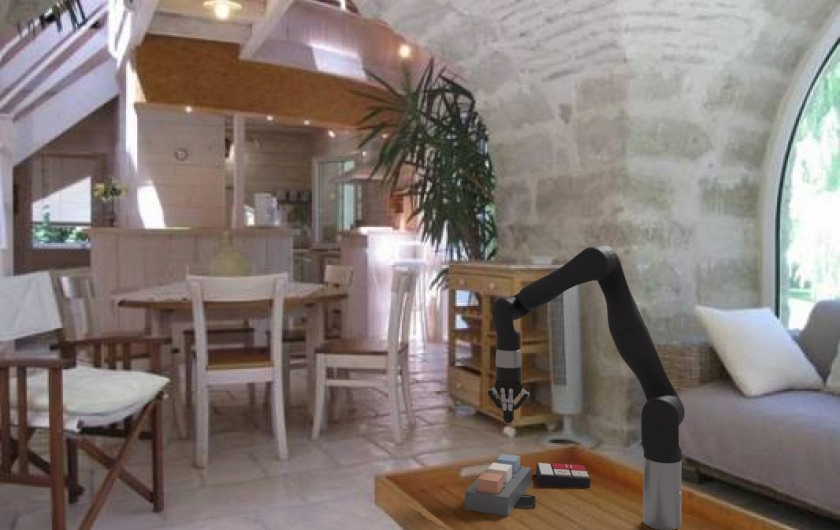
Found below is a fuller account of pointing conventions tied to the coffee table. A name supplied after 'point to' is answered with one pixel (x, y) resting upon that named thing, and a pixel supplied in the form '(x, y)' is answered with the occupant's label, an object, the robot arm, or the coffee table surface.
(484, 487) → the terracotta key
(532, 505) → the phone
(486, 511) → the key panel
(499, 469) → the white key
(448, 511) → the coffee table surface
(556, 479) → the calculator
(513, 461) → the slate key
